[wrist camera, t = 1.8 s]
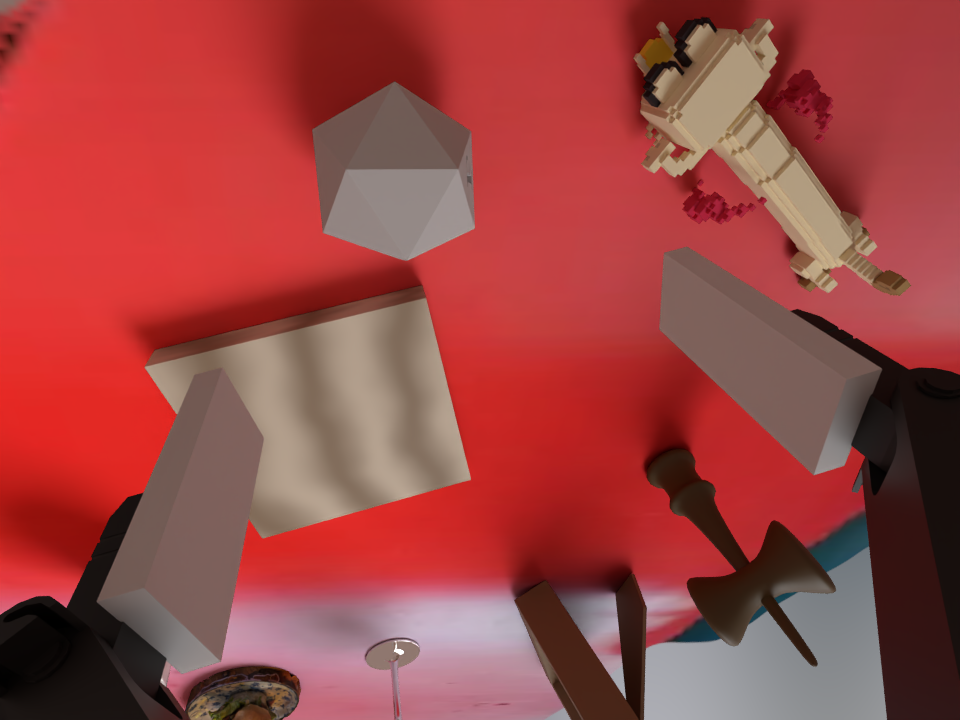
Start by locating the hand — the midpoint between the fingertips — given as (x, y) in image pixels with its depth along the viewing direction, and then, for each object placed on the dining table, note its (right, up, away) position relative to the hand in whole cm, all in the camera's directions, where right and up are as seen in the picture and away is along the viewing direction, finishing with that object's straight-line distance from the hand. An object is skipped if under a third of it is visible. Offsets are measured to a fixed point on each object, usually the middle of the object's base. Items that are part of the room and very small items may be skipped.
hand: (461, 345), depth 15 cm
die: (-5, +11, +15) cm, 19 cm away
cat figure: (+19, +13, +20) cm, 31 cm away
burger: (-27, -39, +43) cm, 64 cm away
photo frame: (+14, -33, +50) cm, 62 cm away
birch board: (-11, -5, +24) cm, 26 cm away
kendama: (+20, -11, +36) cm, 43 cm away
